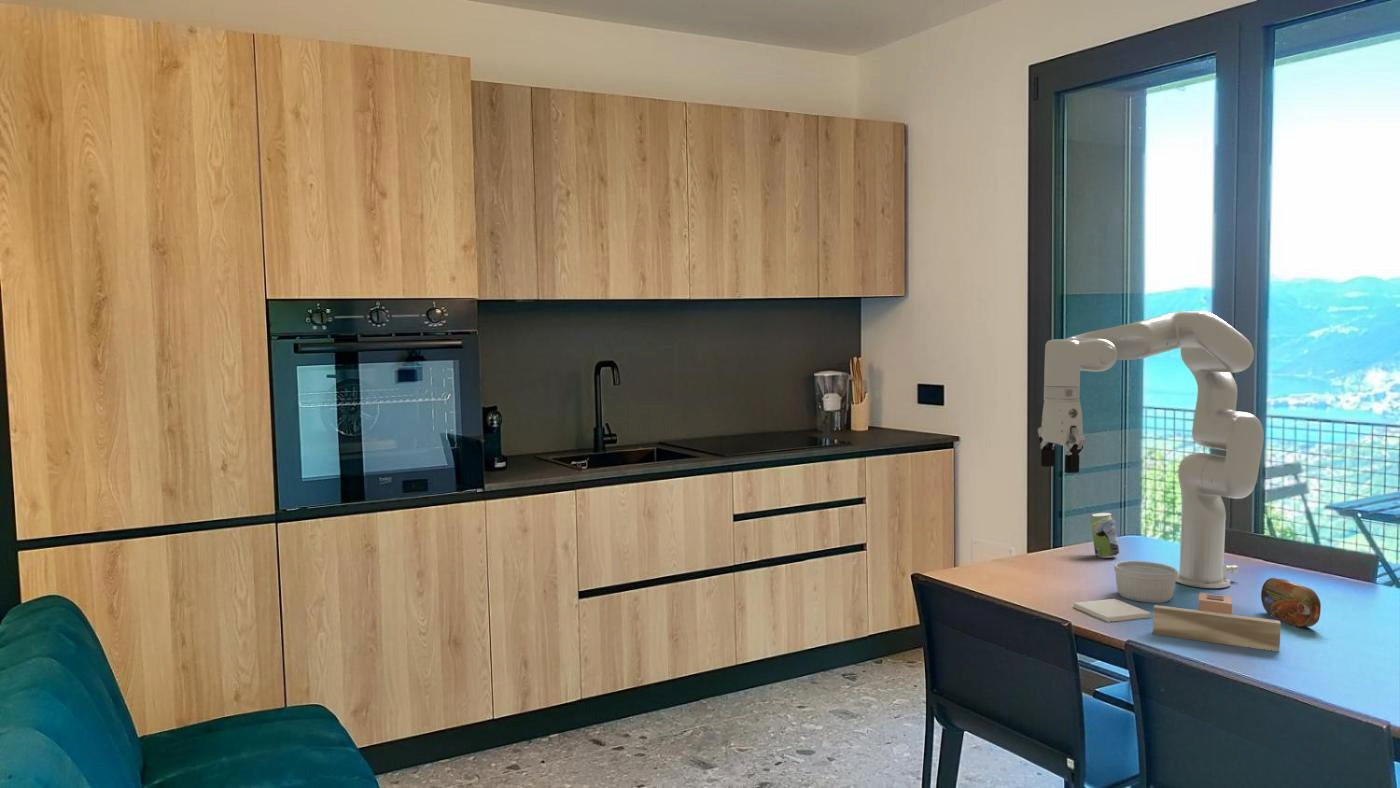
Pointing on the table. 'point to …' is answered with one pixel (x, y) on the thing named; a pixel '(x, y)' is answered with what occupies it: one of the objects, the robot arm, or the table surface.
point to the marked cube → (1215, 603)
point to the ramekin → (1145, 581)
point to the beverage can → (1104, 535)
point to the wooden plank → (1217, 627)
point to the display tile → (1112, 610)
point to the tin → (1291, 602)
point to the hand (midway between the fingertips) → (1059, 469)
